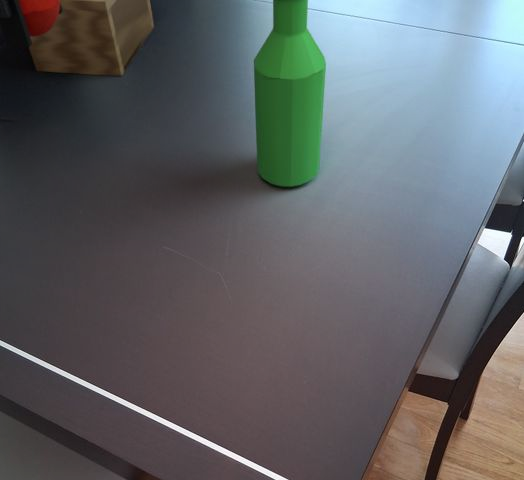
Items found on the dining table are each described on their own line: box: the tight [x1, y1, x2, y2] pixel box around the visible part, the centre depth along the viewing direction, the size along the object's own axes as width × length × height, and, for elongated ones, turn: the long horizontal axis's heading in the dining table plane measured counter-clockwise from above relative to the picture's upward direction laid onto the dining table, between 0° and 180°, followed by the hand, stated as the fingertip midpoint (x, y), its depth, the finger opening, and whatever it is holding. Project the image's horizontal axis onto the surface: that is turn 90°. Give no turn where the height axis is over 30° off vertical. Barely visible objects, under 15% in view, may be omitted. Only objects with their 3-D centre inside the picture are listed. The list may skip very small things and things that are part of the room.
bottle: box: [253, 0, 327, 188], centre depth 71 cm, size 9×9×25 cm
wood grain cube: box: [28, 0, 155, 77], centre depth 102 cm, size 16×20×12 cm
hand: (36, 27), depth 66 cm, fingers closed on apple, 8 cm apart
